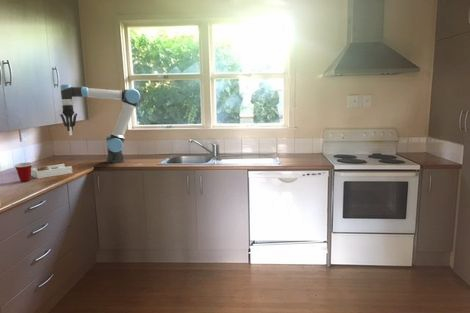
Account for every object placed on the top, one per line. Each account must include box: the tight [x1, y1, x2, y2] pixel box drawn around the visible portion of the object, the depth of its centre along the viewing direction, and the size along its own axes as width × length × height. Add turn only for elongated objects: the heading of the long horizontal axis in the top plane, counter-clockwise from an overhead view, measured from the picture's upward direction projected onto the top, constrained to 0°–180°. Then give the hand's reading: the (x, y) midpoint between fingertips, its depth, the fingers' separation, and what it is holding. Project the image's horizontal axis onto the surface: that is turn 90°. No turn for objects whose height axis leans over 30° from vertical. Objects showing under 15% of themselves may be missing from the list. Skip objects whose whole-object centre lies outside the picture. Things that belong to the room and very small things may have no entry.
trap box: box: [31, 163, 73, 179], centre depth 266 cm, size 24×16×5 cm, turn 134°
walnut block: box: [36, 165, 48, 171], centre depth 259 cm, size 6×6×4 cm
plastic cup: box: [14, 162, 33, 183], centre depth 244 cm, size 11×11×12 cm
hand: (70, 135), depth 282 cm, fingers closed
